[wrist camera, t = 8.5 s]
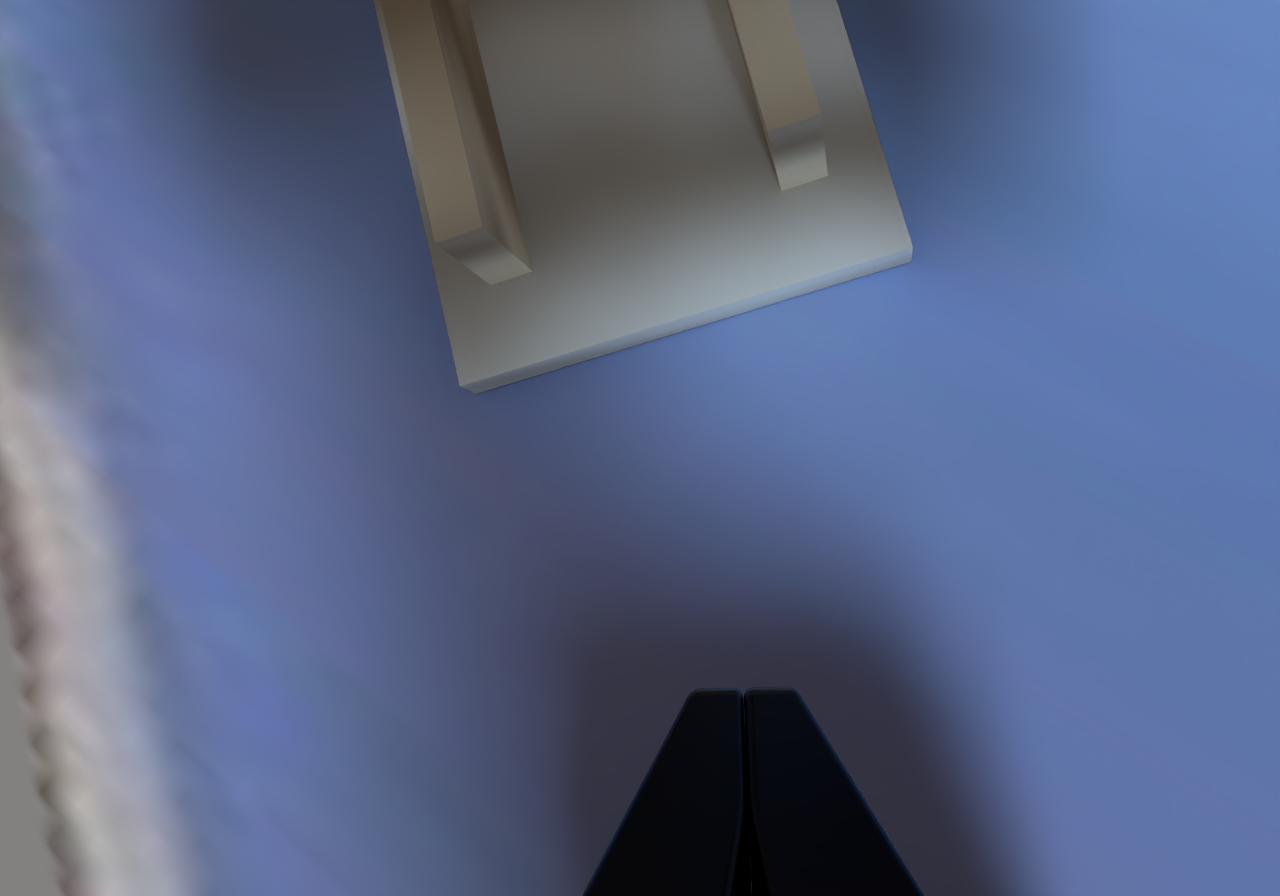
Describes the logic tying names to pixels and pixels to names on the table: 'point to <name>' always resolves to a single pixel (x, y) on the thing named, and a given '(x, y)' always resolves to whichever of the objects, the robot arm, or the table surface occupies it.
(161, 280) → the table surface
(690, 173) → the chute
